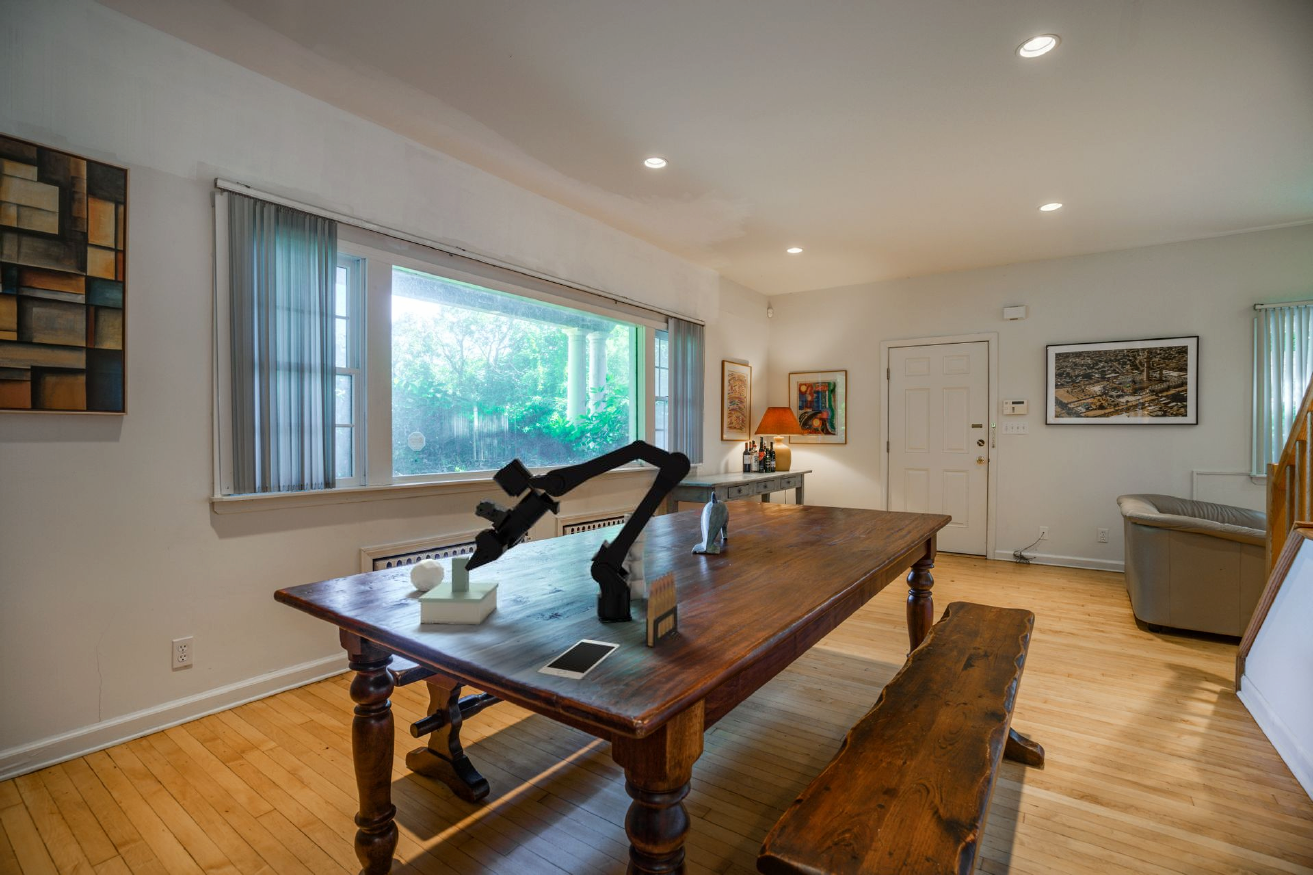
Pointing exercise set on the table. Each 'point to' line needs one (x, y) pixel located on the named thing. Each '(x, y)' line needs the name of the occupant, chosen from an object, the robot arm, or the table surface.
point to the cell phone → (579, 659)
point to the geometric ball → (427, 574)
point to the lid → (459, 586)
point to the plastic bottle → (635, 564)
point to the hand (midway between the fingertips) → (473, 564)
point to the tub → (458, 611)
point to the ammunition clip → (661, 610)
